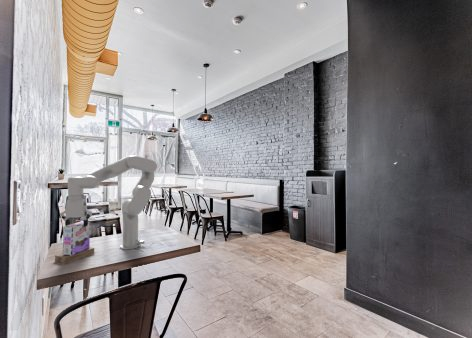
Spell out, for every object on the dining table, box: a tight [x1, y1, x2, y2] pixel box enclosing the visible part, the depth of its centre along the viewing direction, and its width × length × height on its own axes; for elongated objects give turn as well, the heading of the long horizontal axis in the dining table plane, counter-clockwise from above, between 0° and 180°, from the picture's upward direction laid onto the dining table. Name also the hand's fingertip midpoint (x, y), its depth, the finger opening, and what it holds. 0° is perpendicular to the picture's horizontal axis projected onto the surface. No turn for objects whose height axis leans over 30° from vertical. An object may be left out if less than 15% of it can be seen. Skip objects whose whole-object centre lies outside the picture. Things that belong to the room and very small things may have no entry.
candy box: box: [62, 220, 91, 256], centre depth 140 cm, size 14×6×16 cm, turn 173°
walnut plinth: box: [54, 246, 95, 265], centre depth 140 cm, size 9×17×4 cm, turn 157°
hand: (76, 226), depth 140 cm, fingers open, 9 cm apart
